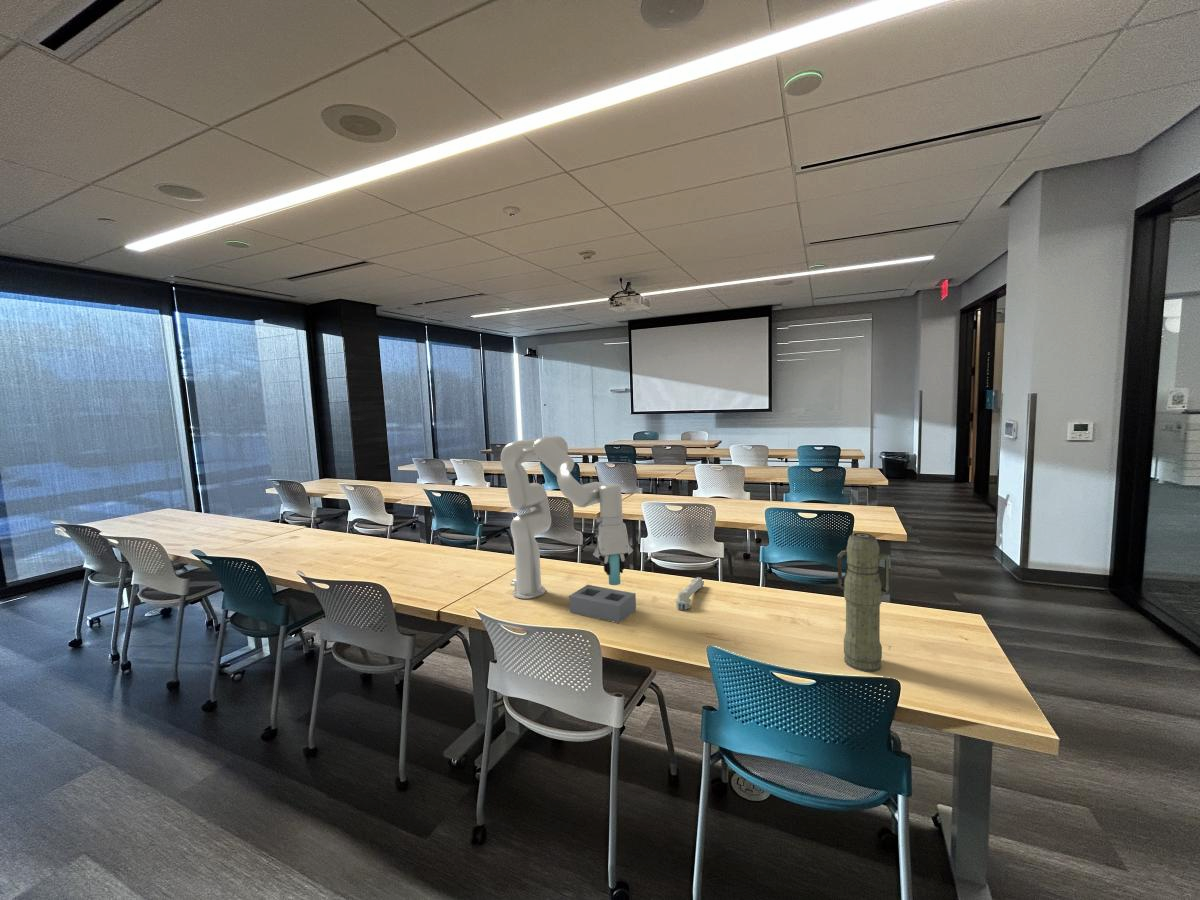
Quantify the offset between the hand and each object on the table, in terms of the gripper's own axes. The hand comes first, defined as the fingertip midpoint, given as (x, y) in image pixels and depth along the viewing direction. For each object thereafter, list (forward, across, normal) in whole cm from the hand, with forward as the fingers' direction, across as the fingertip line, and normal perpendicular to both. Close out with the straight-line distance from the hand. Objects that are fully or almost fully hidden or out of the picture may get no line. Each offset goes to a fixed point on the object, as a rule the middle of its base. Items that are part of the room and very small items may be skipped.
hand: (614, 572), depth 165 cm
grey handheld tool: (+15, +30, +5) cm, 34 cm away
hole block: (+15, -4, +4) cm, 16 cm away
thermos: (+16, +54, -51) cm, 76 cm away
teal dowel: (+4, 0, 0) cm, 4 cm away
